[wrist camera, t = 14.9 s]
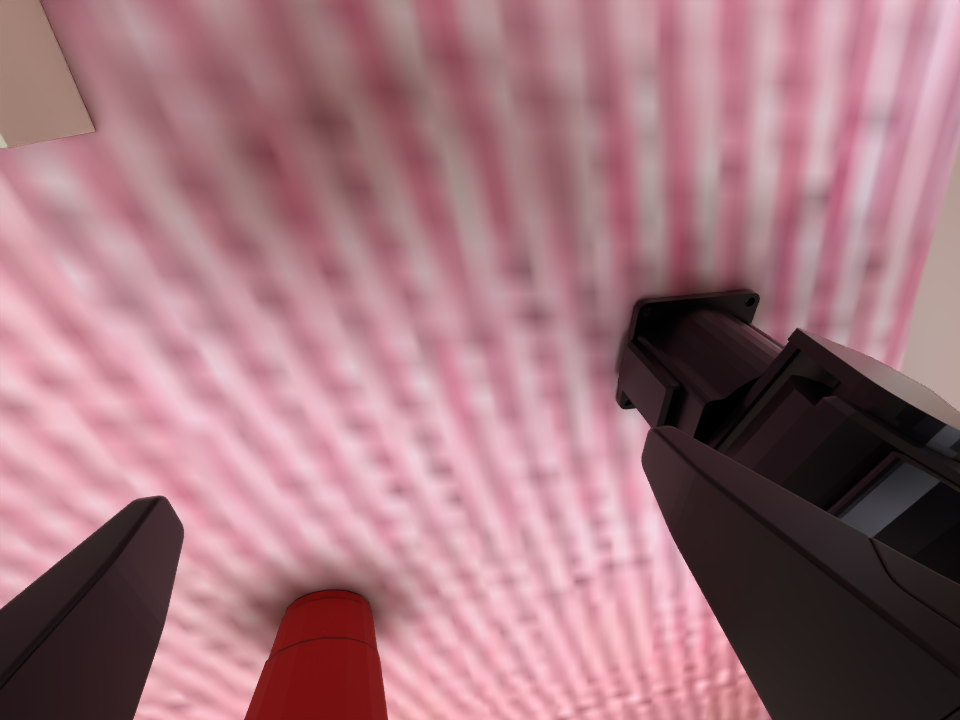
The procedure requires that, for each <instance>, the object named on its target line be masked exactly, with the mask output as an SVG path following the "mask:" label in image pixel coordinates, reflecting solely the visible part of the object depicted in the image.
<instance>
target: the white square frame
mask: <svg viewBox="0 0 960 720" xmlns="http://www.w3.org/2000/svg"><path fill="white" fill-rule="evenodd" d="M90 132H96V131H95V129H94V126H93V124H92V122H91V119H90V117H89V115H88V112H87V110H86V108H85V105H84V103H83V101H82V98H81V96H80V94H79V91H78V89H77V87H76V84H75V82H74V80H73V77H72V75H71V73H70V70H69V68H68V66H67V63H66V61H65V59H64V56H63V54H62V52H61V49H60V47H59V45H58V42H57V40H56V38H55V36H54V33H53V31H52V29H51V26H50V24H49V22H48V19H47V17H46V15H45V12H44V10H43V8H42V5H41V3H40V1H39V0H0V148H11V147H16V146H21V145H27V144H32V143H37V142H43V141H48V140H53V139H59V138H64V137H69V136H74V135H80V134H85V133H90Z"/></svg>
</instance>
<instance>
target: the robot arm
mask: <svg viewBox="0 0 960 720" xmlns="http://www.w3.org/2000/svg"><path fill="white" fill-rule="evenodd" d="M748 299H749V300H748ZM759 299H760V297H759V295H758V294H757V293H755V292H753V291H752V290H740V291H729V292H718V293H707V294H696V295H685V296H674V297H663V298H653V299H644V300H641V301H640V302H638V304H637V305H636V306H635V309H634V313H633V318H632V323H631V328H630V334H629V339H628V342H627V343H626V345H625V349H624V354H623V359H622V364H621V369H620V374H619V379H618V384H619V389H618V394H617V403H618V404H619V406H620V407H621V408H622V409H634V408H637V409H638V411H639V412H640V413H641V415H642V416H643V417H644V419H645V420H646V421H647V423H648V424H649V425H650V427H651V429H650V430H649V431H648V434H647V438H646V441H645V445H644V449H643V453H642V460H641V461H642V466H643V469H644V472H645V474H646V477H647V479H648V481H649V484H650V486H651V489H652V491H653V493H654V496H655V498H656V500H657V503H658V505H659V508H660V510H661V512H662V515H663V517H664V519H665V522H666V524H667V526H668V529H669V531H670V533H671V535H672V537H673V539H674V541H675V543H676V545H677V547H678V549H679V551H680V553H681V554H682V556H683V558H684V560H685V562H686V563H687V565H688V567H689V569H690V571H691V573H692V574H693V576H694V578H695V580H696V582H697V584H698V585H699V587H700V589H701V591H702V593H703V595H704V596H705V598H706V600H707V602H708V604H709V606H710V607H711V609H712V611H713V613H714V615H715V616H716V618H717V620H718V622H719V624H720V626H721V627H722V629H723V631H724V633H725V635H726V637H727V638H728V640H729V642H730V644H731V646H732V648H733V649H734V651H735V653H736V655H737V657H738V659H739V660H740V662H741V664H742V666H743V668H744V669H745V671H746V673H747V675H748V677H749V679H750V680H751V682H752V684H753V686H754V688H755V690H756V691H757V693H758V695H759V697H760V699H761V701H762V702H763V704H764V706H765V708H766V710H767V711H768V713H769V715H770V717H771V719H772V720H960V412H958V411H957V410H956V409H955V408H953V407H952V406H951V405H950V404H948V403H947V402H946V401H945V400H943V399H942V398H941V397H940V396H938V395H937V394H936V393H935V392H934V391H932V390H931V389H929V388H927V387H926V386H924V385H922V384H920V383H918V382H916V381H914V380H913V379H911V378H909V377H907V376H905V375H904V374H902V373H900V372H898V371H896V370H894V369H892V368H891V367H889V366H887V365H885V364H883V363H881V362H880V361H878V360H876V359H874V358H872V357H870V356H868V355H865V354H862V353H860V352H857V351H855V350H852V349H850V348H847V347H845V346H842V345H840V344H837V343H835V342H832V341H830V340H827V339H825V338H822V337H820V336H817V335H815V334H812V333H810V332H807V331H805V330H802V329H800V328H796V330H795V331H794V332H793V333H792V334H791V336H790V337H789V338H788V339H787V340H788V341H789V342H788V344H787V345H786V346H783V345H782V344H780V343H779V342H777V341H776V340H774V339H773V338H771V337H770V336H768V335H767V334H765V333H764V332H762V331H761V330H759V329H758V328H756V327H755V326H754V325H752V324H751V322H752V319H753V317H754V314H755V311H756V308H757V306H758V303H759ZM747 300H748V301H747ZM746 301H747V302H746ZM648 307H649V309H648V311H646V312H645V313H643V311H644V310H645V309H646V308H648ZM626 399H628V400H627V401H625V400H626ZM183 539H184V529H183V525H182V523H181V521H180V519H179V518H178V516H177V514H176V513H175V511H174V509H173V507H172V506H171V504H170V502H169V501H168V499H167V498H166V497H164V496H152V497H145V498H139V499H136V500H134V501H132V502H131V503H130V504H128V505H127V506H126V507H125V508H124V509H122V510H121V511H120V512H119V513H117V514H116V515H115V516H114V517H113V518H111V519H110V520H109V521H108V522H106V523H105V524H104V525H103V526H102V527H100V528H99V529H98V530H97V531H95V532H94V533H93V534H92V535H91V536H89V537H88V538H87V539H86V540H84V541H83V542H82V543H81V544H80V545H78V546H77V547H76V548H75V549H73V550H72V551H71V552H70V553H69V554H67V555H66V556H65V557H64V558H62V559H61V560H60V561H59V562H58V563H56V564H55V565H54V566H53V567H51V568H50V569H49V570H48V571H47V572H45V573H44V574H43V575H42V576H40V577H39V578H38V579H37V580H36V581H34V582H33V583H32V584H31V585H29V586H28V587H27V588H26V589H25V590H23V591H22V592H21V593H20V594H18V595H17V596H16V597H15V598H14V599H12V600H11V601H10V602H9V603H7V604H6V605H5V606H4V607H3V608H1V609H0V720H133V719H134V716H135V713H136V710H137V707H138V704H139V701H140V698H141V695H142V692H143V689H144V686H145V683H146V680H147V677H148V674H149V671H150V668H151V665H152V662H153V659H154V656H155V653H156V650H157V647H158V644H159V641H160V637H161V634H162V631H163V628H164V624H165V620H166V616H167V612H168V607H169V603H170V598H171V594H172V589H173V585H174V580H175V575H176V571H177V566H178V562H179V557H180V553H181V548H182V544H183Z"/></svg>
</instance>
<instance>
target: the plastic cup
mask: <svg viewBox="0 0 960 720" xmlns="http://www.w3.org/2000/svg"><path fill="white" fill-rule="evenodd" d="M244 720H388V716H387V708H386V701H385V693H384V685H383V678H382V670H381V662H380V658H379V654H378V651H377V644H376V637H375V629H374V622H373V617H372V613H371V611H370V607H369V603H368V602H367V601H366V600H365V599H364V598H363V597H361V596H360V595H357V594H354V593H351V592H348V591H337V590H327V591H321V592H315V593H311V594H309V595H306V596H304V597H302V598H299V599H297V600H296V601H295V602H294V603H293V604H292V605H290V606H289V607H288V609H287V611H286V614H285V616H284V617H283V618H282V621H281V624H280V627H279V630H278V633H277V636H276V638H275V641H274V644H273V647H272V650H271V653H270V656H269V659H268V660H267V661H266V662H265V665H264V668H263V670H262V673H261V676H260V678H259V681H258V684H257V687H256V689H255V692H254V695H253V697H252V700H251V703H250V706H249V708H248V711H247V714H246V716H245V719H244Z"/></svg>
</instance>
